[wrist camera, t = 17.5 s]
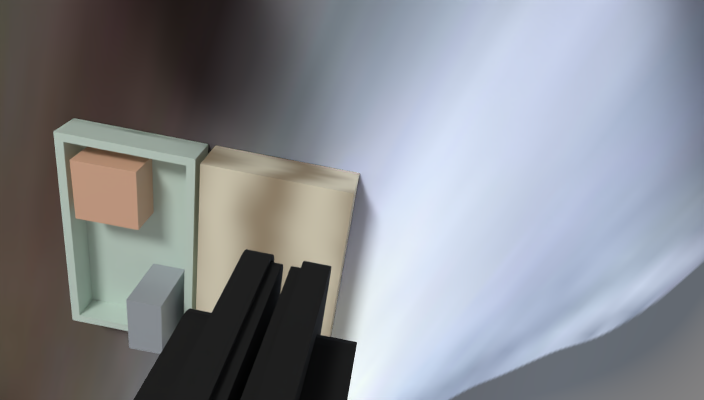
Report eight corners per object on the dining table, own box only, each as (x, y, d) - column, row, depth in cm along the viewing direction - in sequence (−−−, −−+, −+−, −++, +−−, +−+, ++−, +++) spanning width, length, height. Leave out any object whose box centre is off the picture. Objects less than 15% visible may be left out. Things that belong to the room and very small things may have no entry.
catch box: (208, 144, 40) (195, 159, 38) (201, 323, 48) (190, 344, 46) (73, 118, 41) (53, 131, 39) (89, 299, 48) (72, 319, 46)
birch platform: (359, 173, 40) (354, 193, 37) (328, 348, 48) (322, 376, 45) (215, 145, 40) (200, 163, 38) (208, 324, 48) (194, 349, 46)
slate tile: (161, 306, 41) (126, 299, 41) (162, 354, 43) (129, 347, 43) (185, 269, 45) (153, 263, 45) (185, 315, 47) (154, 309, 47)
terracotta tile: (69, 159, 39) (88, 145, 41) (75, 218, 41) (93, 201, 43) (135, 172, 39) (151, 156, 41) (138, 230, 41) (153, 212, 43)
